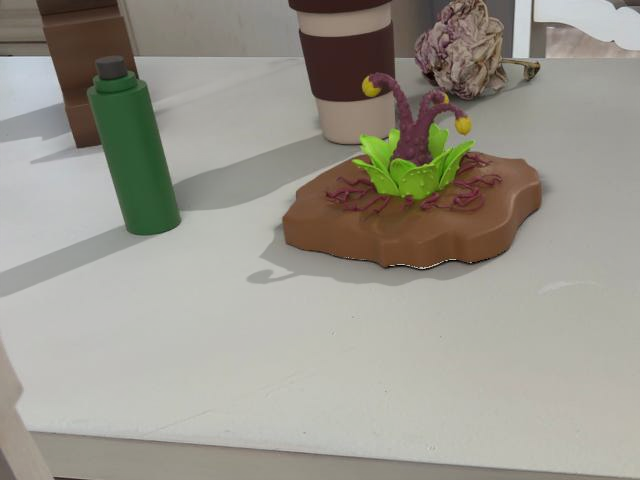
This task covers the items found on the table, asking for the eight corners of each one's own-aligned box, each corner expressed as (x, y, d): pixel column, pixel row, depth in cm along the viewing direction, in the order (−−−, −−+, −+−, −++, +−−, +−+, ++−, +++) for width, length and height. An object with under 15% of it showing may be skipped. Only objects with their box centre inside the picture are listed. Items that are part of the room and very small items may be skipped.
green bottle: (149, 239, 84) (102, 70, 75) (115, 228, 86) (66, 63, 78) (192, 220, 86) (151, 55, 78) (158, 210, 89) (114, 48, 80)
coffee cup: (346, 114, 107) (324, -50, 97) (427, 123, 103) (412, -47, 93) (290, 144, 100) (260, -28, 91) (374, 155, 96) (352, -24, 87)
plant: (359, 167, 94) (341, 35, 87) (563, 182, 88) (562, 41, 81) (251, 256, 80) (219, 107, 73) (485, 280, 74) (475, 120, 67)
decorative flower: (510, 25, 115) (389, 14, 108) (558, -18, 106) (429, -33, 99) (521, 119, 116) (402, 114, 109) (570, 84, 107) (443, 76, 100)
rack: (156, 135, 105) (124, 12, 98) (77, 148, 103) (38, 24, 96) (143, 102, 115) (113, -12, 107) (70, 114, 113) (35, -2, 105)
